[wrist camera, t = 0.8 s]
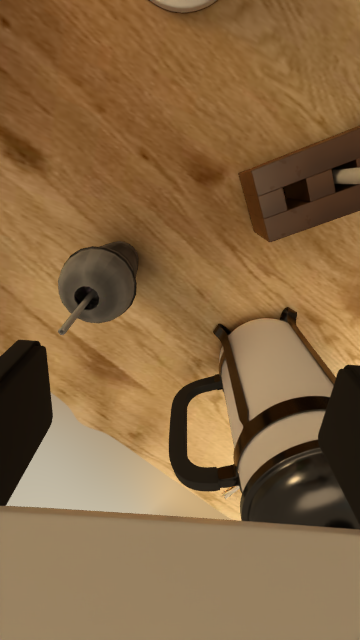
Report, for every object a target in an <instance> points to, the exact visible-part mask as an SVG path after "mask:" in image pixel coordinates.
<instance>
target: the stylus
mask: <svg viewBox="0 0 360 640" xmlns="http://www.w3.org/2000/svg"><path fill="white" fill-rule="evenodd" d="M239 488H240V487H239V486H236V487H234V488H232V489H231V490H229V491H227V492H226V493H224V494H223V495H222V496H224V495H225V497H224V498H225V499H227V498H228V497H229V496H231V495H232V494H233V493H234V492H236V491H237V490H238V489H239Z"/></svg>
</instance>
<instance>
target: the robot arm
mask: <svg viewBox="0 0 360 640" xmlns="http://www.w3.org/2000/svg"><path fill="white" fill-rule="evenodd" d="M150 1H151V2H153V3H154V4H156V5H158V6H159V7H161V8H164V9H167V10H170V11H173V12H183V13H186V12H192V11H198V10H200V9H203V8H205V7H207V6H209V5H211V4H212V3H214V2H215V1H217V0H150ZM50 394H51V393H50V383H49V373H48V363H47V353H46V348H45V347H44V346H41V345H40V342H38V341H30V340H18V341H16V342H15V343H14V344H13V345H12V346H11V347H10V348H9V349H8V350H7V351H6V352H5V353H4V354H3V355H1V356H0V640H360V530H358V529H344V528H331V527H318V526H305V525H291V524H278V523H264V522H250V521H236V520H220V519H207V518H193V517H178V516H163V515H148V514H133V513H118V512H102V511H84V510H69V509H54V508H39V507H15V506H6V504H7V502H8V501H9V499H10V497H11V495H12V493H13V492H14V490H15V488H16V486H17V485H18V483H19V481H20V479H21V477H22V476H23V474H24V472H25V470H26V468H27V467H28V465H29V463H30V461H31V460H32V458H33V456H34V454H35V452H36V451H37V449H38V447H39V445H40V444H41V442H42V440H43V438H44V436H45V435H46V433H47V431H48V429H49V427H50V425H51V423H52V417H53V413H52V403H51V395H50ZM318 443H319V446H320V448H321V450H322V452H323V454H324V456H325V458H326V460H327V462H328V464H329V466H330V468H331V470H332V472H333V474H334V476H335V478H336V480H337V482H338V484H339V486H340V488H341V490H342V492H343V494H344V496H345V498H346V499H347V501H348V503H349V505H350V507H351V509H352V511H353V513H354V515H355V517H356V519H357V521H358V523H359V525H360V366H357V365H346V366H345V367H344V369H340V370H339V371H338V374H337V377H336V380H335V383H334V386H333V389H332V392H331V396H330V399H329V402H328V405H327V408H326V411H325V414H324V417H323V421H322V424H321V427H320V430H319V433H318Z"/></svg>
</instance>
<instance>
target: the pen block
mask: <svg viewBox="0 0 360 640" xmlns="http://www.w3.org/2000/svg"><path fill="white" fill-rule="evenodd" d="M359 167H360V126H357V127H355V128H352V129H350V130H347V131H345V132H342V133H340V134H337V135H334V136H332V137H329V138H327V139H324V140H322V141H319V142H317V143H314V144H312V145H309V146H306V147H304V148H301V149H299V150H296V151H294V152H291V153H289V154H286V155H284V156H281V157H278V158H276V159H273V160H271V161H268V162H266V163H263V164H261V165H258V166H256V167H253V168H250V169H248V170H245V171H243V172H240V173H238V174H239V178H240V181H241V185H242V189H243V193H244V196H245V200H246V204H247V207H248V211H249V215H250V219H251V222H252V226H253V230H254V232H255V233H257V234H258V235H260V236H261V237H263V238H264V239H265V240H267V241H268V242H272V241H275V240H278V239H281V238H284V237H286V236H289V235H292V234H295V233H298V232H300V231H303V230H306V229H309V228H312V227H315V226H317V225H320V224H323V223H326V222H329V221H332V220H334V219H337V218H340V217H343V216H346V215H349V214H351V213H354V212H357V211H360V184H334V180H333V174H332V170H338V169H349V168H359ZM282 187H284V189H285V194H286V198H287V199H285V197H284V192H283V188H282Z"/></svg>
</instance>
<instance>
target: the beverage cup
mask: <svg viewBox="0 0 360 640" xmlns="http://www.w3.org/2000/svg"><path fill="white" fill-rule="evenodd" d="M138 259H139V258H138V254H137V252H136V250H135V249H134V248H133V247H132V246H131V245H130V244H128V243H126V242H120V241H118V242H113V243H109V244H106V245H103V246H100V247H93V246H92V247H88V248H83V249H80V250H78V251H77V252H75V253H74V254H72V255H71V256H70V257H69V259H68V260H67V261H66V262H65V264H64V266H63V268H62V270H61V273H60V276H59V280H58V287H59V295H60V298H61V300H62V303H63V304H64V306H65V307H66V308H67V310H68V311H69V312H70V313H71V315H70V317H69V318H68V319H67V320H66V322H65V323H64V324H63V325H62V327H61V328H60V329H59V330H58V333H59V334H60V335H64V334H65V333H66V332H67V330H68V329H69V328H70V326H71V325H72V324H73V323H74V321H75V320H76V319H77V318H78V319H81V320H83V321H86V322H91V323H102V322H107V321H111V320H113V319H115V318H117V317H118V316H120V315H122V314H123V313H124V312H126V310H127V309H128V308H129V307H130V306H131V305H132V303H133V300H134V298H135V295H136V284H137V283H136V279H135V278H136V274H137V270H138Z"/></svg>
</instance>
